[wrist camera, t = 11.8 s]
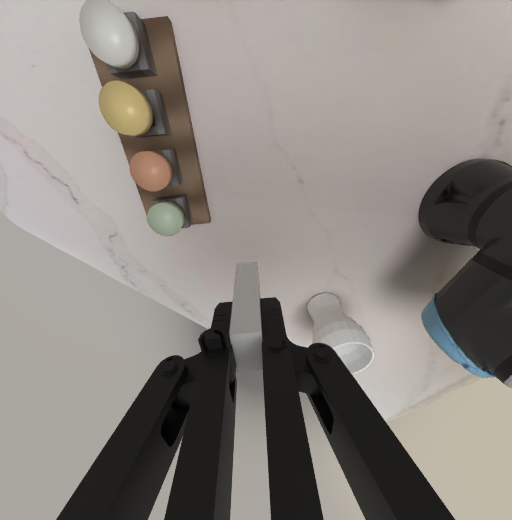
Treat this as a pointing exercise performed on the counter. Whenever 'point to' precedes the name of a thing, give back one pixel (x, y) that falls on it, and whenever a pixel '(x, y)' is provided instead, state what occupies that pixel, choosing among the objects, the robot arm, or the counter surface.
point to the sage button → (165, 218)
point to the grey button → (109, 33)
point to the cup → (340, 332)
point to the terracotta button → (151, 170)
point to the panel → (163, 117)
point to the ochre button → (125, 108)
